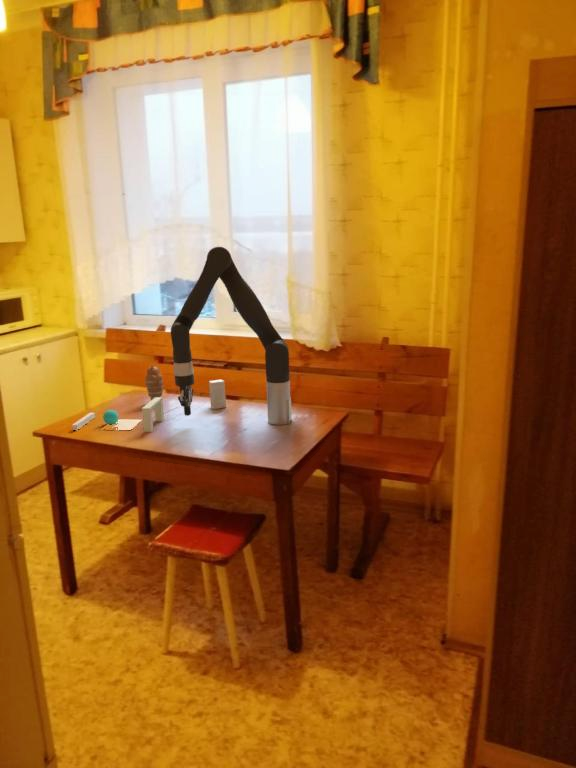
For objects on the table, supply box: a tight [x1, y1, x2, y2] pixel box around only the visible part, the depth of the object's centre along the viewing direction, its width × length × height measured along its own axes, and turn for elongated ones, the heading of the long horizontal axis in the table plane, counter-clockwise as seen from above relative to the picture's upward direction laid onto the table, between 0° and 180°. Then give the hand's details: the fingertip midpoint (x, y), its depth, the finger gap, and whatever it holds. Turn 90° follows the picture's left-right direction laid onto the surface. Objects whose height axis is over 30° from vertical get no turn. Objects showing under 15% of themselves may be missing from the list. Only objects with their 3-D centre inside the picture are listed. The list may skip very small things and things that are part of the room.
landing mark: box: [112, 418, 143, 431], centre depth 244 cm, size 13×13×1 cm
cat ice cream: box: [144, 363, 164, 401], centre depth 269 cm, size 9×8×18 cm
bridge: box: [141, 396, 165, 433], centre depth 240 cm, size 3×15×10 cm, turn 172°
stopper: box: [71, 412, 96, 431], centre depth 245 cm, size 2×16×2 cm, turn 172°
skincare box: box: [208, 379, 227, 410], centre depth 262 cm, size 6×4×12 cm
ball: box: [102, 409, 119, 425], centre depth 244 cm, size 6×6×6 cm
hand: (187, 414), depth 238 cm, fingers closed
